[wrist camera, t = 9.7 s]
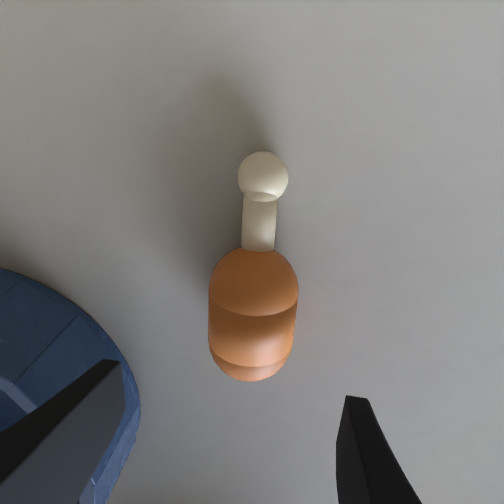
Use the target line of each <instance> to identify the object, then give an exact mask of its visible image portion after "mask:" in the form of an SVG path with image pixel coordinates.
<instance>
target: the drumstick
mask: <svg viewBox="0 0 504 504" xmlns="http://www.w3.org/2000/svg"><path fill="white" fill-rule="evenodd" d="M237 180H238V185H239V188H240V190H241V191H242V193H243V213H242V235H241V247H239V248H237V249H235V250H233V251H231V252H229V253H228V254H226V255H225V256H224V257H223V258H222V259H221V260H220V261H219V262H218V264H217V265H216V267H215V268H214V270H213V272H212V275H211V278H210V282H209V311H208V341H209V348H210V352H211V354H212V357H213V359H214V361H215V362H216V364H217V365H218V366H219V367H220V369H221V370H222V371H223V372H225V373H226V374H228V375H229V376H231V377H233V378H235V379H238V380H241V381H249V382H252V381H259V380H263V379H265V378H268V377H270V376H272V375H273V374H275V373H276V372H277V371H278V370H279V369H280V368H281V367H282V366H283V365H284V364H285V362H286V360H287V358H288V356H289V355H290V351H291V347H292V342H293V334H294V326H295V318H296V309H297V301H298V282H297V278H296V274H295V272H294V270H293V268H292V266H291V265H290V263H289V262H288V261H287V260H286V259H285V258H284V257H283V256H282V255H281V254H279V253H278V252H276V251H275V250H274V240H275V229H276V217H277V205H278V197H280V196H281V195H282V193H283V192H284V191H285V189H286V187H287V183H288V171H287V168H286V165H285V164H284V162H283V161H282V160H281V159H280V158H279V157H278V156H277V155H275V154H273V153H270V152H266V151H261V152H255V153H253V154H251V155H249V156H248V157H246V158H245V159H244V160H243V162H242V163H241V165H240V167H239V170H238V175H237Z"/></svg>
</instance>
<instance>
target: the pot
mask: <svg viewBox="0 0 504 504" xmlns="http://www.w3.org/2000/svg"><path fill="white" fill-rule="evenodd" d="M102 359H109V360H116V361H121V366H122V375H123V384H124V394H125V403H126V409H125V412H124V414H123V417H122V419H121V421H120V424H119V426H118V429H117V431H116V433H115V436H114V438H113V440H112V442H111V443H110V445H109V447H108V449H107V451H106V452H105V454H104V456H103V458H102V460H101V461H100V463H99V465H98V467H97V468H96V470H95V472H94V474H93V475H92V477H91V479H90V481H89V482H88V484H87V486H86V488H85V489H84V491H83V493H82V495H81V496H80V498H79V500H78V502H77V503H76V504H106V502H107V499H108V497H109V495H110V493H111V491H112V489H113V487H114V485H115V483H116V481H117V479H118V476H119V474H120V472H121V470H122V468H123V466H124V464H125V462H126V460H127V458H128V456H129V453H130V451H131V449H132V447H133V445H134V443H135V438H136V432H137V430H138V426H139V420H140V400H139V394H138V389H137V386H136V383H135V380H134V377H133V374H132V372H131V370H130V368H129V366H128V364H127V362H126V360H125V359H124V357H123V355H122V354H121V352H120V351H119V349H118V348H117V346H116V345H115V344H114V342H113V341H112V340H111V339H110V338H109V336H108V335H107V334H106V333H105V331H104V330H103V329H102V328H101V327H100V326H99V325H98V324H97V323H96V322H95V321H94V320H93V319H92V318H91V317H90V316H88V315H87V314H86V313H85V312H83V311H82V310H81V309H80V308H78V307H77V306H76V305H75V304H74V303H72V302H71V301H69V300H68V299H66V298H65V297H63V296H62V295H60V294H59V293H57V292H55V291H54V290H52V289H50V288H48V287H46V286H44V285H42V284H41V283H39V282H37V281H34V280H32V279H29V278H27V277H25V276H22V275H20V274H17V273H14V272H11V271H7V270H4V269H1V268H0V432H1V431H3V430H5V429H6V428H8V427H9V426H11V425H13V424H14V423H16V422H17V421H19V420H20V419H22V418H23V417H25V416H26V415H27V414H29V413H30V412H32V411H33V410H35V409H36V408H38V407H39V406H41V405H42V404H43V403H45V402H46V401H48V400H49V399H50V398H52V397H53V396H54V395H56V394H57V393H58V392H60V391H61V390H62V389H64V388H65V387H67V386H68V385H69V384H70V383H72V382H73V381H74V380H76V379H77V378H78V377H80V376H81V375H82V374H84V373H85V372H86V371H87V370H89V369H90V368H91V367H93V366H94V365H95V364H97V363H98V362H99V361H101V360H102Z"/></svg>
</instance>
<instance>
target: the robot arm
mask: <svg viewBox="0 0 504 504" xmlns="http://www.w3.org/2000/svg"><path fill="white" fill-rule="evenodd" d="M125 409H126V403H125V394H124V384H123V375H122V366H121V361H116V360H109V359H102V360H101V361H99V362H98V363H97V364H95V365H94V366H93V367H91V368H90V369H89V370H87V371H86V372H85V373H84V374H82V375H81V376H80V377H78V378H77V379H76V380H74V381H73V382H72V383H70V384H69V385H68V386H67V387H65V388H64V389H62V390H61V391H60V392H58V393H57V394H56V395H54V396H53V397H52V398H50V399H49V400H48V401H46V402H45V403H43V404H42V405H41V406H39V407H38V408H36V409H35V410H33V411H32V412H30V413H29V414H27V415H26V416H25V417H23V418H22V419H20V420H19V421H17V422H16V423H14V424H13V425H11V426H9V427H8V428H6V429H5V430H3V431H1V432H0V504H76V503H77V502H78V500H79V498H80V496H81V495H82V493H83V491H84V489H85V488H86V486H87V484H88V482H89V481H90V479H91V477H92V475H93V474H94V472H95V470H96V468H97V467H98V465H99V463H100V461H101V460H102V458H103V456H104V454H105V452H106V451H107V449H108V447H109V445H110V443H111V442H112V440H113V438H114V436H115V433H116V431H117V429H118V426H119V424H120V421H121V419H122V417H123V414H124V412H125ZM336 481H337V492H338V502H339V504H422V503H421V501H420V500H419V498H418V496H417V495H416V493H415V491H414V490H413V488H412V486H411V485H410V483H409V481H408V480H407V478H406V476H405V474H404V473H403V471H402V469H401V467H400V465H399V464H398V462H397V460H396V458H395V456H394V454H393V452H392V450H391V449H390V447H389V445H388V443H387V441H386V439H385V437H384V434H383V432H382V430H381V428H380V426H379V424H378V422H377V419H376V417H375V415H374V412H373V410H372V407H371V405H370V402H369V401H368V400H367V398H360V397H354V396H347V395H346V398H345V403H344V407H343V412H342V417H341V422H340V427H339V431H338V436H337V441H336Z"/></svg>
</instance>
